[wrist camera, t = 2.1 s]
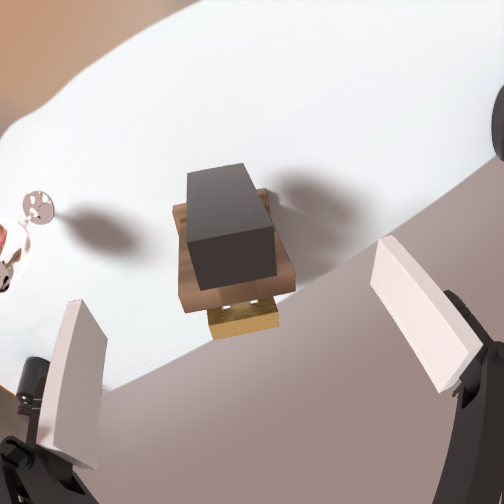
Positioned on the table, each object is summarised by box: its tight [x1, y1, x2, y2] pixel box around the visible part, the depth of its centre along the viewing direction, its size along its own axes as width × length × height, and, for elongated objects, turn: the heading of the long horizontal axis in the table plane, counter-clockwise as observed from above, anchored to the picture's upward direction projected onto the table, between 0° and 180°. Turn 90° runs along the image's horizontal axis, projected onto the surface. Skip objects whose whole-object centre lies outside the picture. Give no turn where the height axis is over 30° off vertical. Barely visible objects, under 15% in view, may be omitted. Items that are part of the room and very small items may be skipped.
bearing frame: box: [172, 189, 296, 313], centre depth 30 cm, size 10×10×13 cm
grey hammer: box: [186, 163, 277, 308], centre depth 22 cm, size 16×4×9 cm, turn 7°
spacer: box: [207, 296, 279, 340], centre depth 28 cm, size 2×6×6 cm, turn 97°
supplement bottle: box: [16, 357, 50, 423], centre depth 38 cm, size 7×7×12 cm
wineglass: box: [0, 190, 54, 293], centre depth 23 cm, size 6×6×12 cm
